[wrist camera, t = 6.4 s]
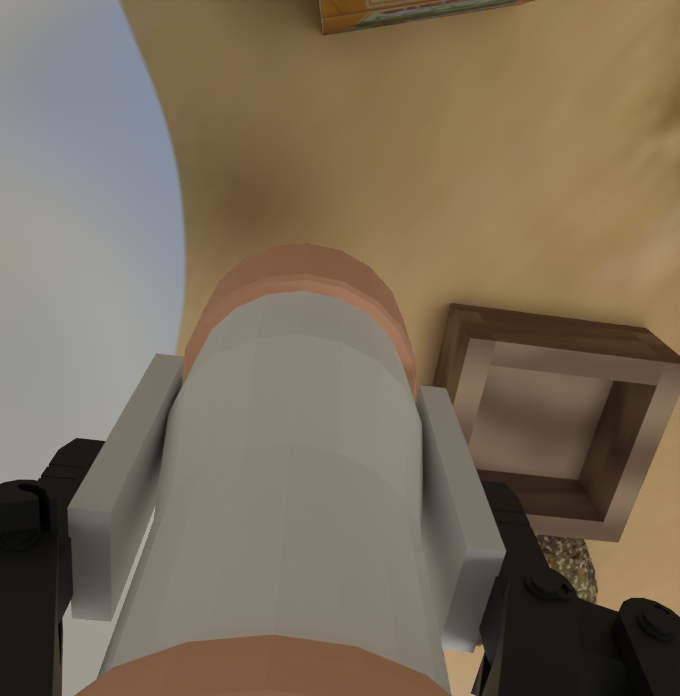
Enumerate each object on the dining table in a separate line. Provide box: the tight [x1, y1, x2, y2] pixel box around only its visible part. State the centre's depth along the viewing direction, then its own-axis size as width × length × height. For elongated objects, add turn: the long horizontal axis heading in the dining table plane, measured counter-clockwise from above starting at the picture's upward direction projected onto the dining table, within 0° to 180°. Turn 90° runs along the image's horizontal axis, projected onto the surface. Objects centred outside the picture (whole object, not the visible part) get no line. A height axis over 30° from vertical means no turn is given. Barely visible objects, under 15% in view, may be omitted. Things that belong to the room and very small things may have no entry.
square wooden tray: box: [433, 304, 680, 542], centre depth 41 cm, size 13×13×6 cm
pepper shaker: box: [75, 244, 452, 696], centre depth 14 cm, size 7×7×19 cm
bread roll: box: [476, 534, 598, 647], centre depth 48 cm, size 13×12×5 cm
